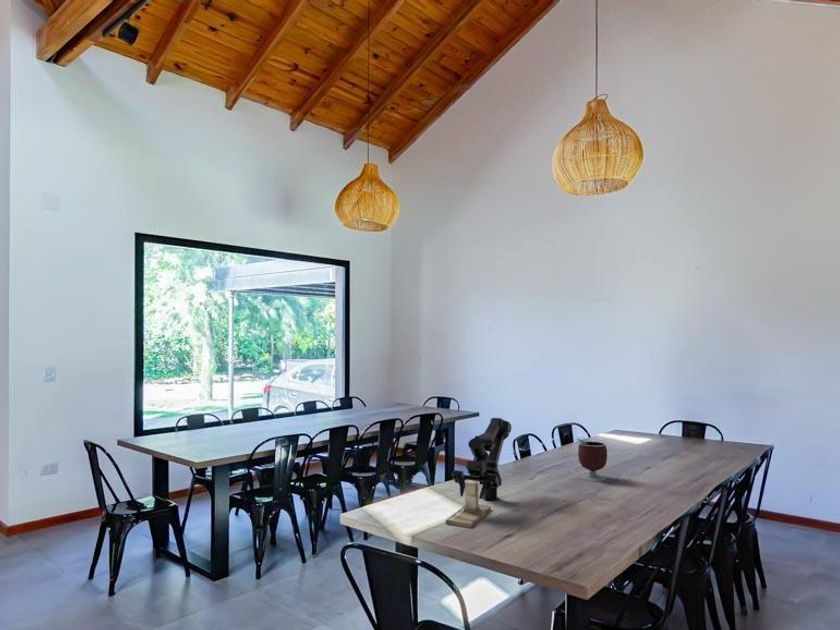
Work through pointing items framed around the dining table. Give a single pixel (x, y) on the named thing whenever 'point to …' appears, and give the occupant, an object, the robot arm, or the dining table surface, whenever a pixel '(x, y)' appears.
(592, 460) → the mate gourd
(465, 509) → the tall beige pillar block
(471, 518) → the walnut board
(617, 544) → the dining table surface
